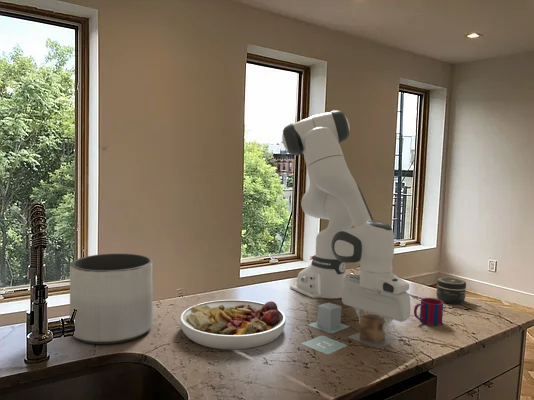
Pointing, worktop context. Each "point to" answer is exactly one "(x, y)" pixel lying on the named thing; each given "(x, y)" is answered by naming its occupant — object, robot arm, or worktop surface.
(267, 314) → the bowl
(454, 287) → the jar
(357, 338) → the slate coaster
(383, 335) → the walnut block
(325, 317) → the blue-grey block
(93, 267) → the planter
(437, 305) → the mug
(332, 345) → the code tile
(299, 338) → the worktop surface
